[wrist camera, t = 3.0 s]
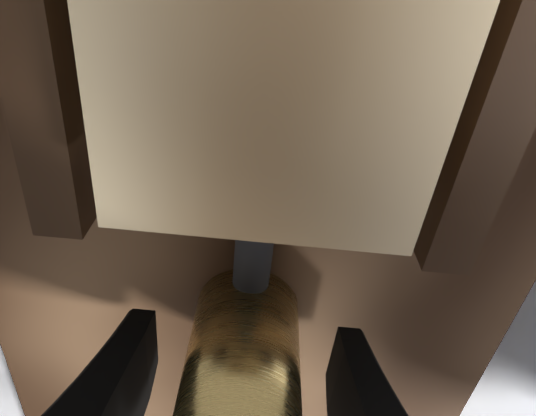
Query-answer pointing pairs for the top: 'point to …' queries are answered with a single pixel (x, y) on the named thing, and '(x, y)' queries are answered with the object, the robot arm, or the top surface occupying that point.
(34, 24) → the walnut lane shelf
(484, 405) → the top surface
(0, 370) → the top surface
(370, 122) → the cream block with stem
